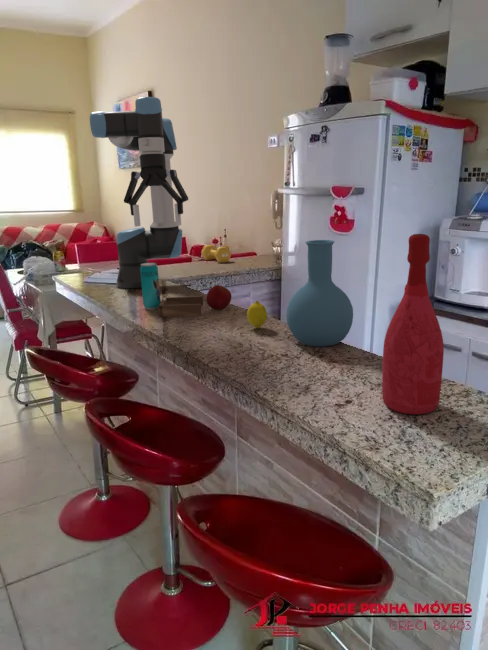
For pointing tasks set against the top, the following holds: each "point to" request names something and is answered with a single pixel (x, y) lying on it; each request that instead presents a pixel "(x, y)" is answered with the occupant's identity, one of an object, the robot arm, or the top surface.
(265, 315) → the fruit
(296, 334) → the vase
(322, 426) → the top surface
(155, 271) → the beverage can
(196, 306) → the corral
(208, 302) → the apple
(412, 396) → the wine bottle
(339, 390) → the top surface
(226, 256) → the dumbbell
